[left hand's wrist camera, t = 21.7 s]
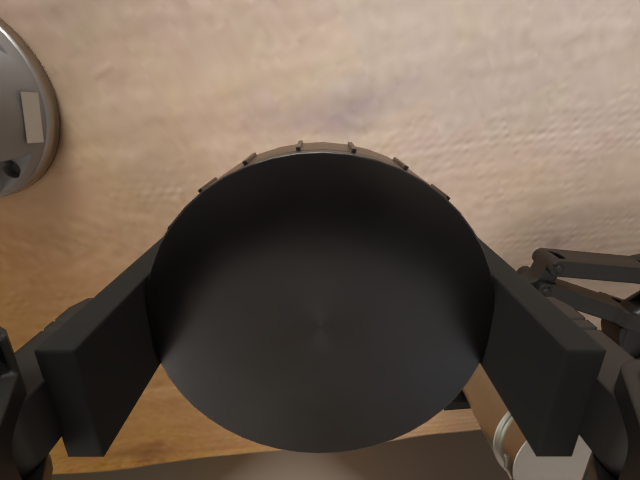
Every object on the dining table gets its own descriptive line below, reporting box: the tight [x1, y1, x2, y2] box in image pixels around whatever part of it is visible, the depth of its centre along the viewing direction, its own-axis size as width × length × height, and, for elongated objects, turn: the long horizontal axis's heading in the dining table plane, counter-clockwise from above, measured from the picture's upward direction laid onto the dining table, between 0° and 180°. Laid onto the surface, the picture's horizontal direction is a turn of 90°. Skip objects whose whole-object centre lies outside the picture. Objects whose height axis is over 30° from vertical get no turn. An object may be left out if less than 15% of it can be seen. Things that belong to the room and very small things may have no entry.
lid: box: [146, 141, 494, 453], centre depth 11 cm, size 9×9×2 cm
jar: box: [462, 363, 592, 480], centre depth 29 cm, size 8×8×17 cm
